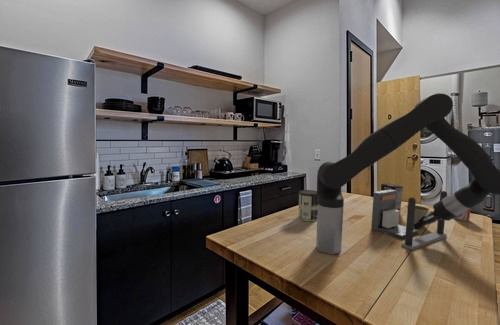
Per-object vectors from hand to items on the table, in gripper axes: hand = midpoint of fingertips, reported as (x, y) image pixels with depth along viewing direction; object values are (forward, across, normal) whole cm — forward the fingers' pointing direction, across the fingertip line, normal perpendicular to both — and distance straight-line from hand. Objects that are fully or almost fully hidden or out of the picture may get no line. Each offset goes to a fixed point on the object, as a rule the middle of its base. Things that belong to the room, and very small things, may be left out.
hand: (415, 227), depth 109 cm
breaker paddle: (+9, 0, -6) cm, 11 cm away
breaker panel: (+9, 0, -3) cm, 10 cm away
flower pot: (+10, -18, -3) cm, 21 cm away
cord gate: (0, 0, +6) cm, 6 cm away
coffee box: (+22, -26, -16) cm, 38 cm away
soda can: (+5, -49, +2) cm, 49 cm away
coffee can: (+33, +22, -26) cm, 47 cm away
